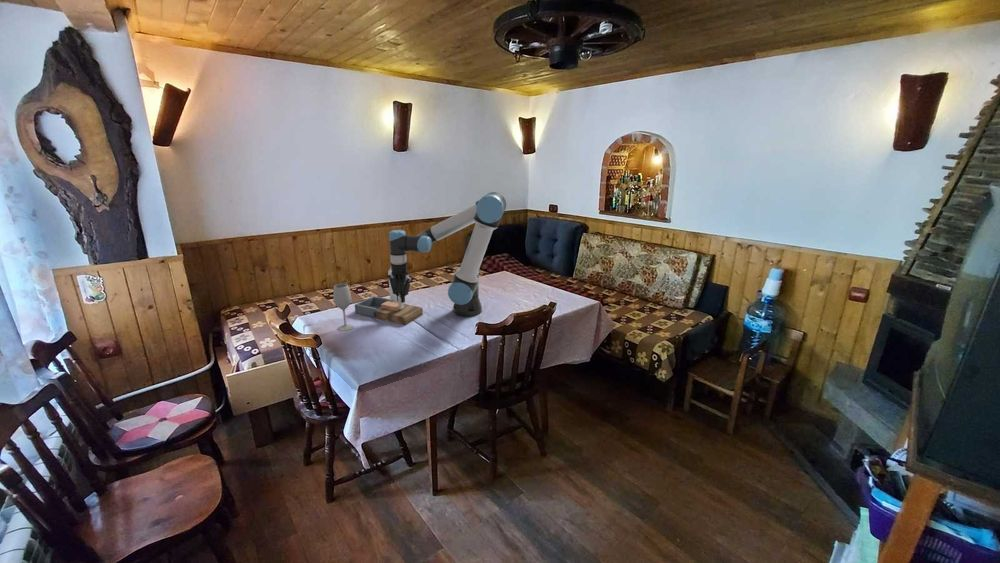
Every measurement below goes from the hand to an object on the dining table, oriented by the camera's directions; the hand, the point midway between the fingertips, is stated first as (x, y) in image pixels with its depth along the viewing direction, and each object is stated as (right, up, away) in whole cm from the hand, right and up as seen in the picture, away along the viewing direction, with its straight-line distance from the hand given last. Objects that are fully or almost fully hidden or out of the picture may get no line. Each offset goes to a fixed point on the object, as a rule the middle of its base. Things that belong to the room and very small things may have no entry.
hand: (401, 307), depth 196 cm
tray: (-16, -2, +8) cm, 18 cm away
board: (-1, -5, +2) cm, 5 cm away
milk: (-7, +1, +19) cm, 20 cm away
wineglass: (-24, -9, -11) cm, 27 cm away
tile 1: (-7, 0, +4) cm, 8 cm away
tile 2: (-3, 0, +2) cm, 3 cm away
